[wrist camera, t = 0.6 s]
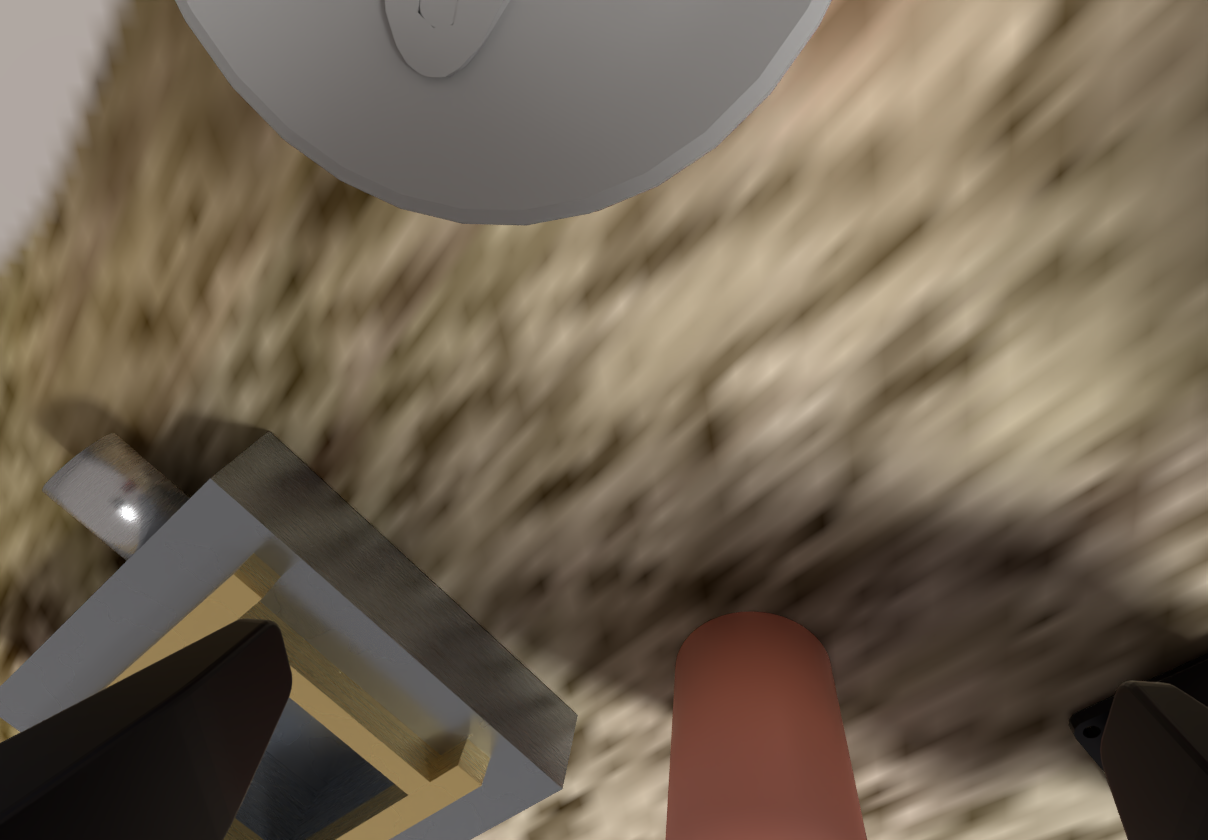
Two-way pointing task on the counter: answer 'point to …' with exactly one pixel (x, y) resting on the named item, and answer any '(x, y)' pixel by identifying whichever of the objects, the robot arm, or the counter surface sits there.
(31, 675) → the grey and gold frame
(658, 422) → the counter surface
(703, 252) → the counter surface
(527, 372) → the counter surface
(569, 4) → the canned food
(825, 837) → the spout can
